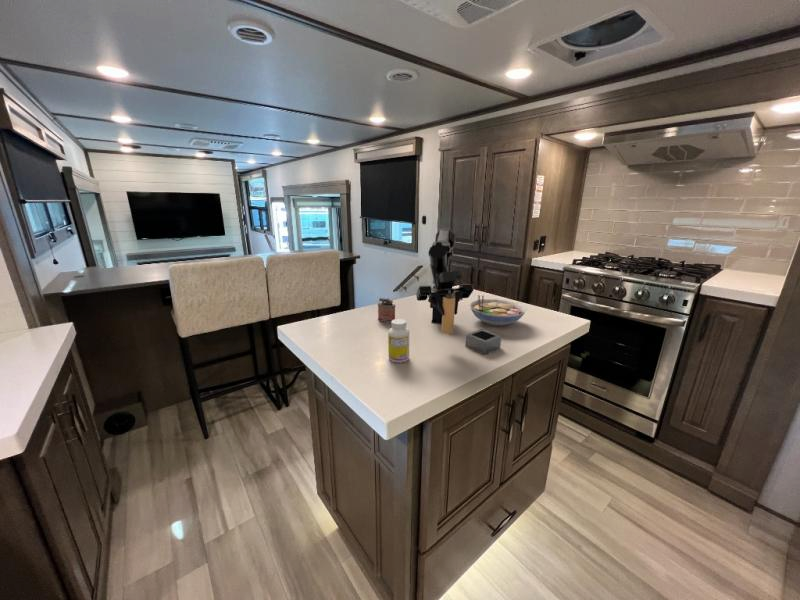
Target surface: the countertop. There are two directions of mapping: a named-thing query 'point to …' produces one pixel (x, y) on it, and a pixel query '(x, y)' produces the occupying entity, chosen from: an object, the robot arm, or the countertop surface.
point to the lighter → (386, 310)
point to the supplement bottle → (398, 341)
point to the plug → (448, 313)
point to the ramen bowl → (497, 311)
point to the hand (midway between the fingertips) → (449, 314)
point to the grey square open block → (483, 341)
